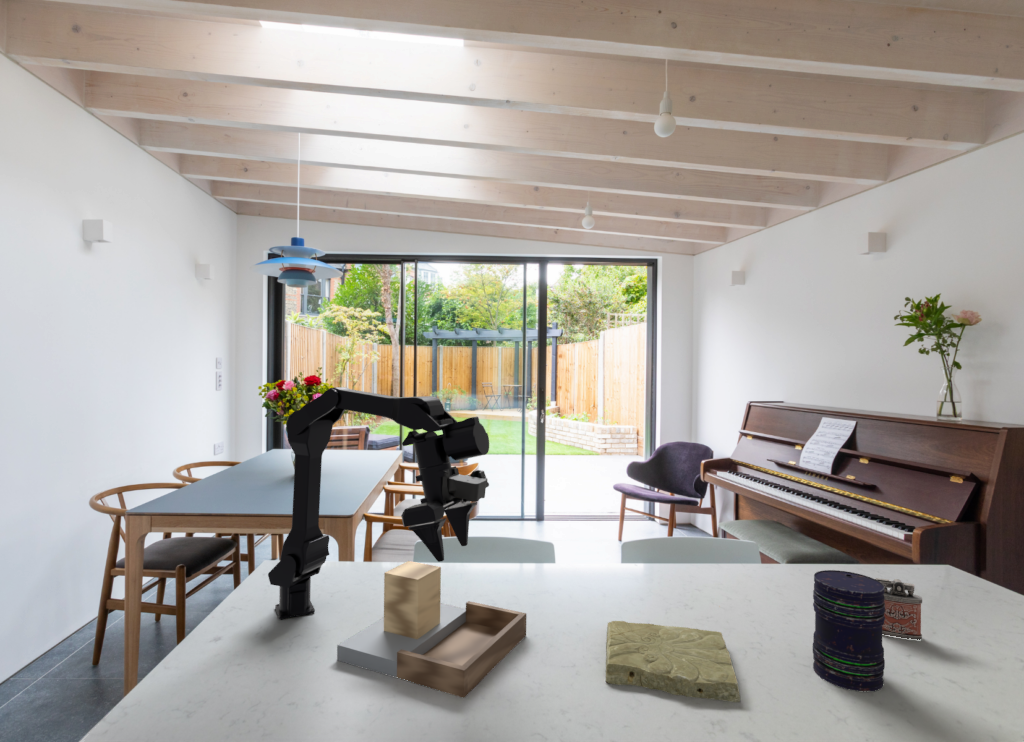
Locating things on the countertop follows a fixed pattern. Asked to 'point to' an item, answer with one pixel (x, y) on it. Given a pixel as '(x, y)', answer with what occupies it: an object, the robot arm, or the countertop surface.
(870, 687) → the dark blue barrel
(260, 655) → the countertop surface
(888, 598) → the lighter
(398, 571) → the block
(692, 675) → the decorative tile
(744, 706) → the countertop surface
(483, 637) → the bin
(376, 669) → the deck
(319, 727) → the countertop surface
